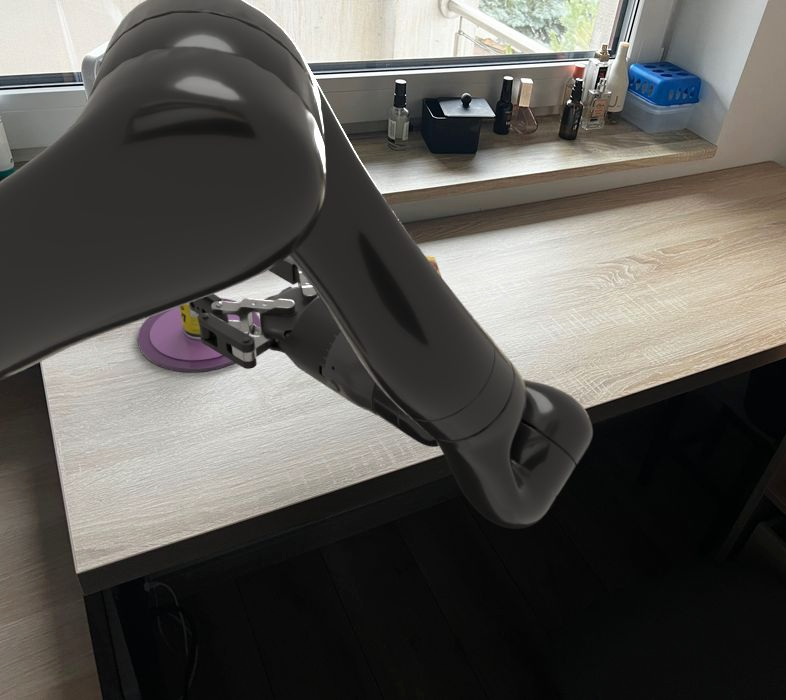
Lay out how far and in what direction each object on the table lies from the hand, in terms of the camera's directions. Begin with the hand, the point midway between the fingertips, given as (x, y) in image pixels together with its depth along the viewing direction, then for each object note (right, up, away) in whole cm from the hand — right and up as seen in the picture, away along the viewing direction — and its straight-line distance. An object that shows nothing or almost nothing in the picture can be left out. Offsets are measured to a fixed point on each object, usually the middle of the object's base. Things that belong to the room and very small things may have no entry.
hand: (231, 274), depth 66 cm
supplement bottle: (-14, -4, +32) cm, 35 cm away
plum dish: (-14, -5, +32) cm, 36 cm away
